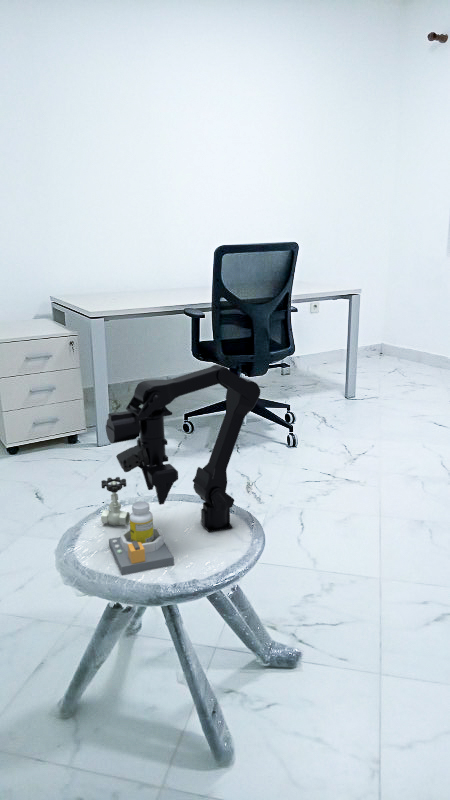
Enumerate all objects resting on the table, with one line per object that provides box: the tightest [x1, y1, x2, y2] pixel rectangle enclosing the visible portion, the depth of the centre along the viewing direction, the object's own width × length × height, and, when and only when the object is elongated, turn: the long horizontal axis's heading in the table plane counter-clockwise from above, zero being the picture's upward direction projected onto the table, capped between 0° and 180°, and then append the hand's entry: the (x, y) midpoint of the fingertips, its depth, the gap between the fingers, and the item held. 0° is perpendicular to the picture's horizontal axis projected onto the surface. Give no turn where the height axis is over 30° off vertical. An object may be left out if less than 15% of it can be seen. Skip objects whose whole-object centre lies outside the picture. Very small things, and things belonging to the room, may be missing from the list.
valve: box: [100, 476, 131, 527], centre depth 161 cm, size 7×7×12 cm
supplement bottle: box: [129, 501, 154, 544], centre depth 148 cm, size 5×5×10 cm
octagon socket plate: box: [108, 526, 175, 576], centre depth 147 cm, size 12×14×4 cm
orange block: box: [128, 541, 145, 564], centre depth 141 cm, size 3×4×4 cm
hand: (155, 496), depth 151 cm, fingers open, 9 cm apart
